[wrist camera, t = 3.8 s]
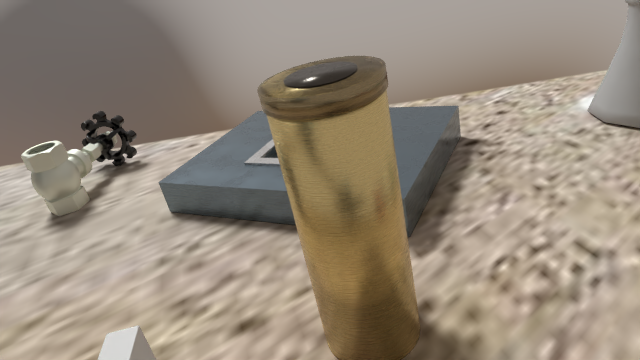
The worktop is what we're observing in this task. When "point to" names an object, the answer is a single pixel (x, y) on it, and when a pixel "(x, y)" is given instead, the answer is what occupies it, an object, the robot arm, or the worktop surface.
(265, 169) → the plate
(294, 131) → the brass bushing
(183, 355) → the worktop surface
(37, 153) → the valve
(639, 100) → the flask
